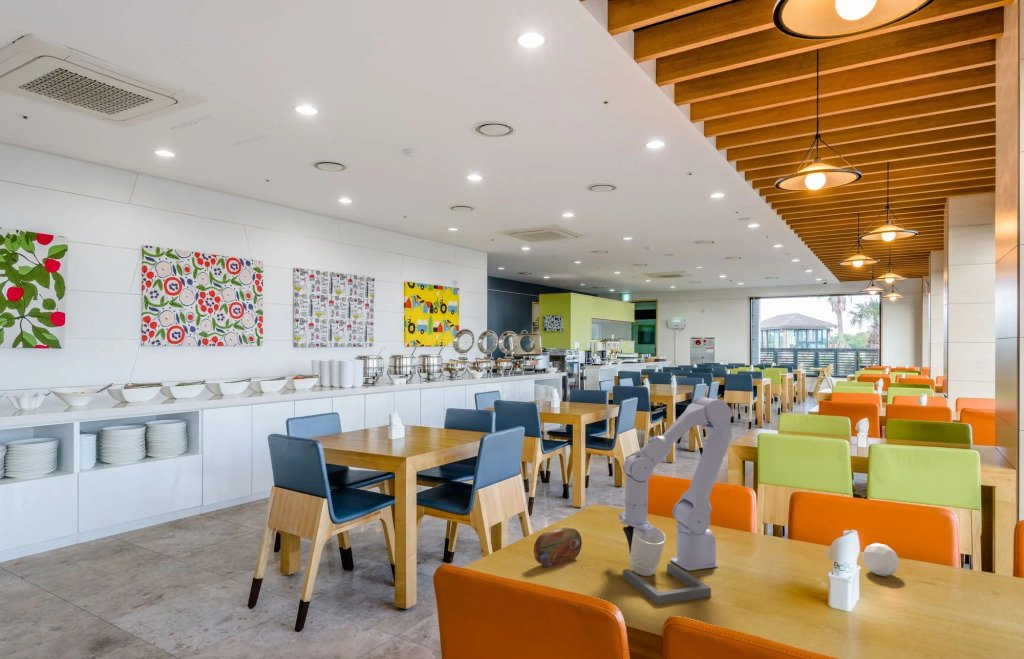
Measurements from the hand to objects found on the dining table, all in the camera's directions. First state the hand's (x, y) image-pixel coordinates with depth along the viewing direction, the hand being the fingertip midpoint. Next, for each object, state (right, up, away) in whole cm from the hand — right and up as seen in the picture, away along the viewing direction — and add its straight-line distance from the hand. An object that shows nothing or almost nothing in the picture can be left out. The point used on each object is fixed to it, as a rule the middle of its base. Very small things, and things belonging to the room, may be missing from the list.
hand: (634, 555), depth 149 cm
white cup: (+1, -2, -3) cm, 4 cm away
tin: (-20, -3, +3) cm, 20 cm away
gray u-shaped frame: (+5, -3, -12) cm, 13 cm away
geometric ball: (+61, -3, -4) cm, 62 cm away
